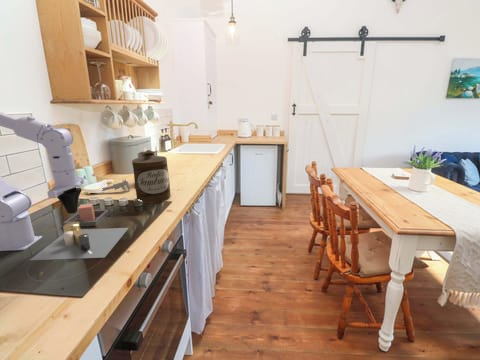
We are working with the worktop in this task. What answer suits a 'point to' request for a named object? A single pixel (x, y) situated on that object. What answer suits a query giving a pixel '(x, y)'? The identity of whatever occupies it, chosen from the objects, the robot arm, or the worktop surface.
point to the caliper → (117, 186)
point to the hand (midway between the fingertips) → (72, 212)
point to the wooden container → (151, 178)
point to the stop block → (86, 212)
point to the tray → (98, 213)
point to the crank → (78, 235)
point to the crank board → (69, 249)
